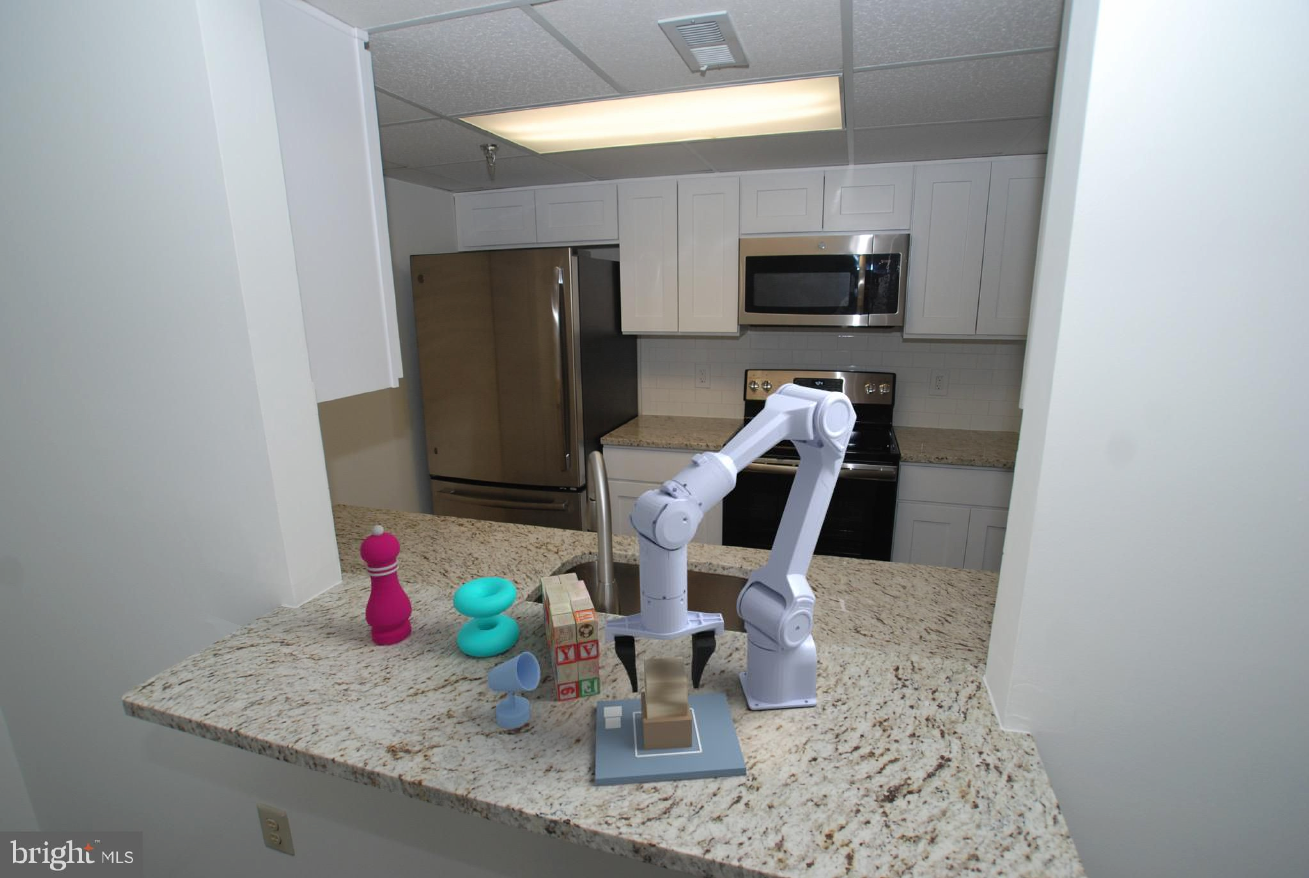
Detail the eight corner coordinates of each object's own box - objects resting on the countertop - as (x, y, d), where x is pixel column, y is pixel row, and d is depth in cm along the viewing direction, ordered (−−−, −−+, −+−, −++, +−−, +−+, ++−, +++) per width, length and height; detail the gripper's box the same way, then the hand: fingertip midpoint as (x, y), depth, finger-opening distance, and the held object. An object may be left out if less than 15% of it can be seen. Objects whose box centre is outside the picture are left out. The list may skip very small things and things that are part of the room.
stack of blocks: (543, 625, 108) (538, 560, 105) (579, 620, 110) (575, 555, 107) (558, 703, 88) (553, 625, 85) (601, 695, 90) (598, 618, 87)
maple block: (682, 690, 82) (682, 656, 81) (687, 715, 77) (687, 680, 76) (644, 692, 82) (643, 659, 81) (647, 718, 77) (646, 683, 76)
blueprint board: (724, 698, 88) (724, 667, 87) (746, 774, 75) (746, 739, 73) (597, 707, 87) (595, 675, 86) (595, 785, 73) (593, 750, 72)
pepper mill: (404, 647, 102) (389, 534, 97) (361, 647, 102) (343, 534, 97) (421, 623, 109) (408, 516, 104) (380, 624, 109) (365, 517, 104)
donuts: (454, 577, 104) (515, 570, 106) (460, 631, 107) (519, 623, 109) (449, 607, 95) (516, 598, 97) (455, 664, 97) (521, 655, 99)
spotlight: (547, 710, 86) (503, 701, 88) (542, 646, 84) (497, 639, 86) (530, 734, 82) (484, 724, 84) (525, 668, 79) (477, 659, 81)
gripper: (717, 570, 80) (716, 663, 83) (603, 576, 79) (607, 670, 82) (727, 597, 73) (726, 697, 76) (603, 604, 72) (607, 705, 75)
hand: (665, 685), depth 79 cm, fingers open, 7 cm apart
